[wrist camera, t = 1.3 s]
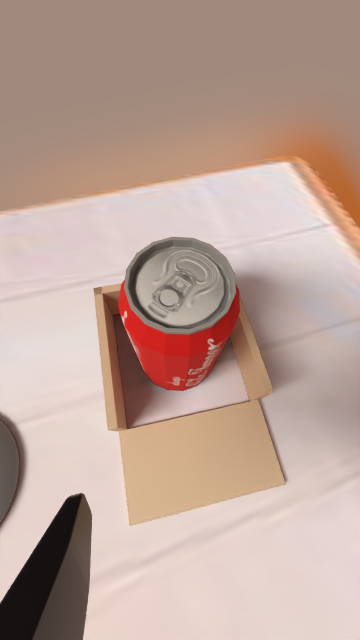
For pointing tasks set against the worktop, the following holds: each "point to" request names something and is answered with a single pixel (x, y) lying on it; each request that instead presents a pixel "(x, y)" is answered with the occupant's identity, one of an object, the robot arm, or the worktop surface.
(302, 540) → the worktop surface
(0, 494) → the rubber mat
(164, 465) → the carton
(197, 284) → the soda can
